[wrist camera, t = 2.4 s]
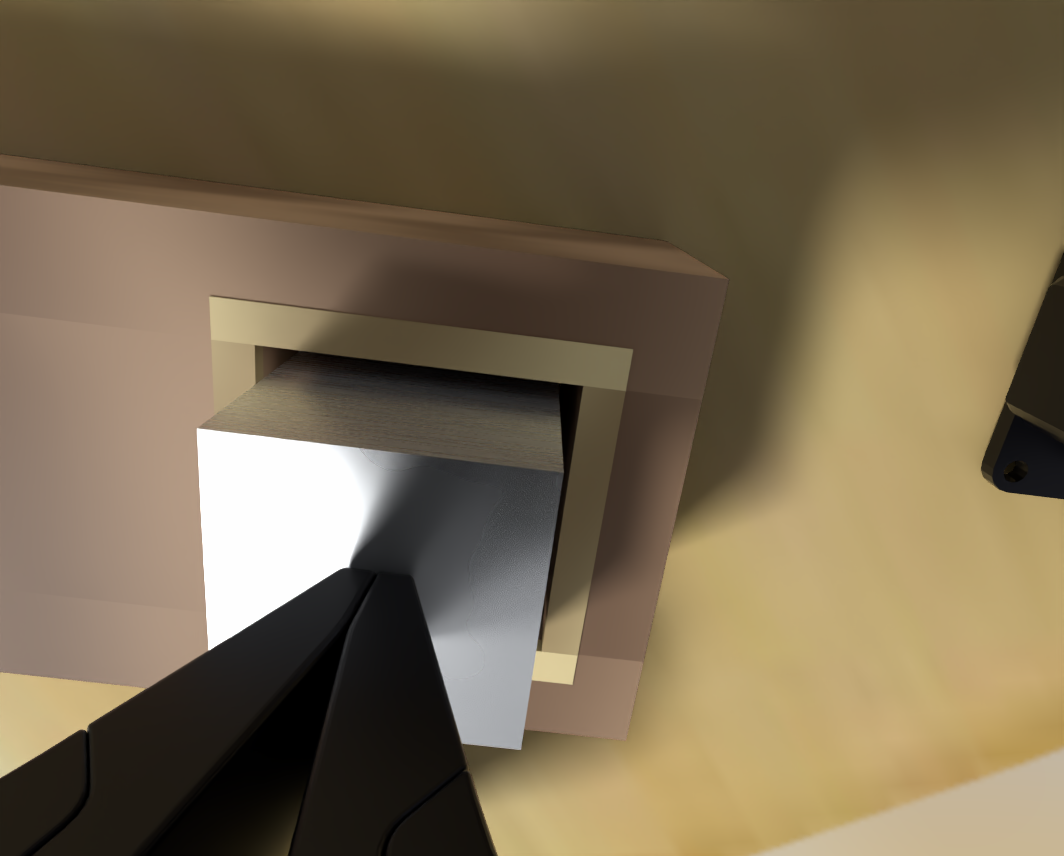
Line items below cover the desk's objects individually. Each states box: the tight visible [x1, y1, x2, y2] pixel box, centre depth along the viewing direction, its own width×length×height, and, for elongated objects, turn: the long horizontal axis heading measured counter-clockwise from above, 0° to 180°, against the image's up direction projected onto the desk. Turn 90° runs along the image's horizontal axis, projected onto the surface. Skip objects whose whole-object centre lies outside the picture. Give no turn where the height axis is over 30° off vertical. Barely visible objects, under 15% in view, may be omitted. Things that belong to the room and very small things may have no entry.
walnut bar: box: [0, 154, 729, 741], centre depth 13 cm, size 20×8×5 cm, turn 83°
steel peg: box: [197, 351, 564, 750], centre depth 10 cm, size 4×4×5 cm
